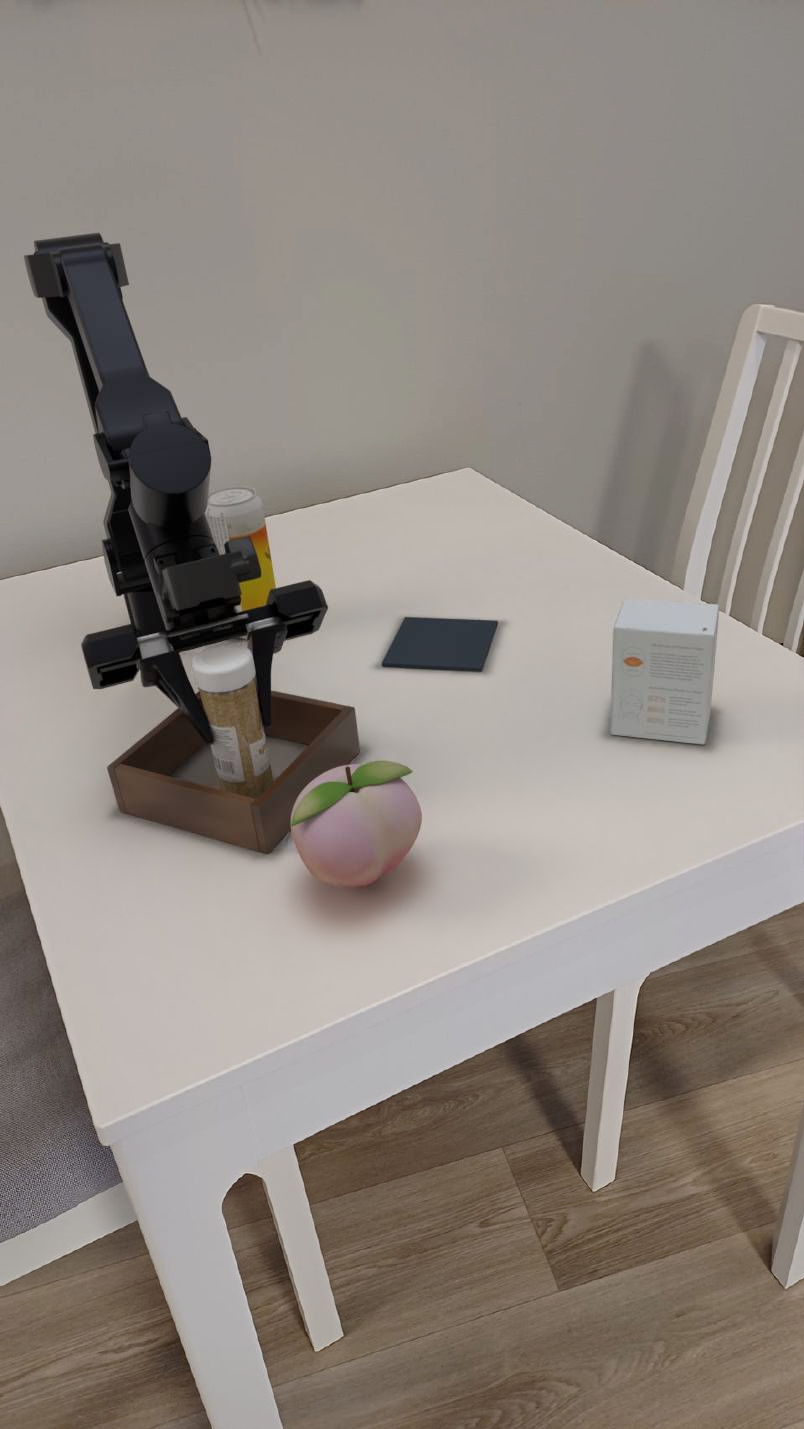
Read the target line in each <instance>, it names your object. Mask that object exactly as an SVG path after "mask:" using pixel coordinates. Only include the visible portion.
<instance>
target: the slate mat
mask: <svg viewBox="0 0 804 1429" xmlns="http://www.w3.org/2000/svg"><path fill="white" fill-rule="evenodd" d="M498 622H499V620H494V619H493V620H492V619H470V618H469V619H466V618H443V617H441V618H440V617H419V616H418V617H416V616H414V617H413V616H404V618H403V619H402V622H401V624H400V625H399V627H398V629H397V631H396V634H395V636H394V638H393V640H392V642H391V643H390V646H389V648H388V650H387V652H386V654H385V656H384V657H383V660H382V662H381V667H384V668H385V667H387V668H402V669H403V668H405V669H406V668H408V669H424V670H425V669H427V670H442V671H443V670H445V671H462V672H463V671H464V672H479V673H480V672H483V669H484V666H485V664H486V660H487V657H488V654H489V651H490V648H491V645H492V642H493V640H494V637H495V633H496V630H497V627H498V624H499V623H498Z"/></svg>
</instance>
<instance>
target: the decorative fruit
mask: <svg viewBox="0 0 804 1429" xmlns="http://www.w3.org/2000/svg"><path fill="white" fill-rule="evenodd" d="M410 774H413V770H412V769H411V768H410V767H408V766H406V765H404V764H402V763H399V762H395V761H390V760H374V761H371V762H366V763H364V764H359V763H358V764H357V763H352V764H348V765H344V766H339V767H336V768H333V769H331V770H329V771H326V772H324V773H323V774H321V775H320V776H318V777H316V778H315V779H314V780H313V781H311V782H310V783H309V784H308V785H307V786H306V787H305V788H304V789H303V790H302V792H301V793H300V795H299V796H298V798H297V800H296V802H295V804H294V806H293V810H292V813H291V829H290V832H291V837H292V840H293V843H294V845H295V848H296V851H297V852H298V855H299V857H300V860H302V862H303V864H304V866H305V867H306V869H307V870H308V871H309V872H310V874H311V875H312V876H314V877H315V878H316V879H318V880H319V881H320V882H323V883H325V884H327V885H330V886H334V887H338V888H339V887H340V888H361V887H365V886H368V885H371V884H373V883H374V882H375V881H377V880H378V879H379V878H380V877H381V876H383V875H385V874H388V873H390V872H392V871H393V870H394V869H395V868H396V867H398V866H399V865H400V864H401V862H403V860H404V859H405V858H406V856H407V855H408V854H409V852H410V850H411V849H412V848H413V846H414V844H415V842H416V840H417V839H418V836H419V834H420V831H421V827H422V821H423V813H422V807H421V805H420V802H419V800H418V797H417V796H416V794H415V792H414V791H413V789H412V788H411V786H410V785H408V783H407V782H406V781H405V780H404V779H403V778H404V777H406V776H409V775H410Z"/></svg>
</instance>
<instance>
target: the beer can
mask: <svg viewBox="0 0 804 1429" xmlns="http://www.w3.org/2000/svg"><path fill="white" fill-rule="evenodd" d="M205 515H206V518H207V521H208V524H209V527H210V530H211V533H212V536H213V539H214V542H215V544H216V547H217V549H218V551H219V554H220V555H222V554H226V553H225V548H224V544H225V543H226V542H228V541H230V540H234V539H239V538H243V537H247V536H250V537H251V540H252V542H253V545H254V548H255V550H256V553H257V556H258V560H259V563H260V567H261V573H262V575H261V577H260V578H257V579H254V580H249V581H245V582H241V583H239V585H240V588H241V592H242V595H240V597H241V604H240V605H238V606H236V608H237V611H238V612H241V611H245V610H249V609H253V608H257V607H261V606H265V605H266V603H267V599H268V595H269V591H270V590H271V589H275V588H277V586H276V579H275V574H274V567H273V560H272V555H271V548H270V543H269V542H270V540H269V535H268V530H267V524H266V523H267V522H266V518H265V516H266V515H265V510H264V505H263V499H262V498H261V496H260V495H259V494H258V491H257V489H256V488H254V487H253V486H249V485H229V486H223V487H219V488H217V489H212V490H211V491H209V493H208V504H207V509H206V511H205ZM238 638H239V639H245V636H242V637H238Z"/></svg>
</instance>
